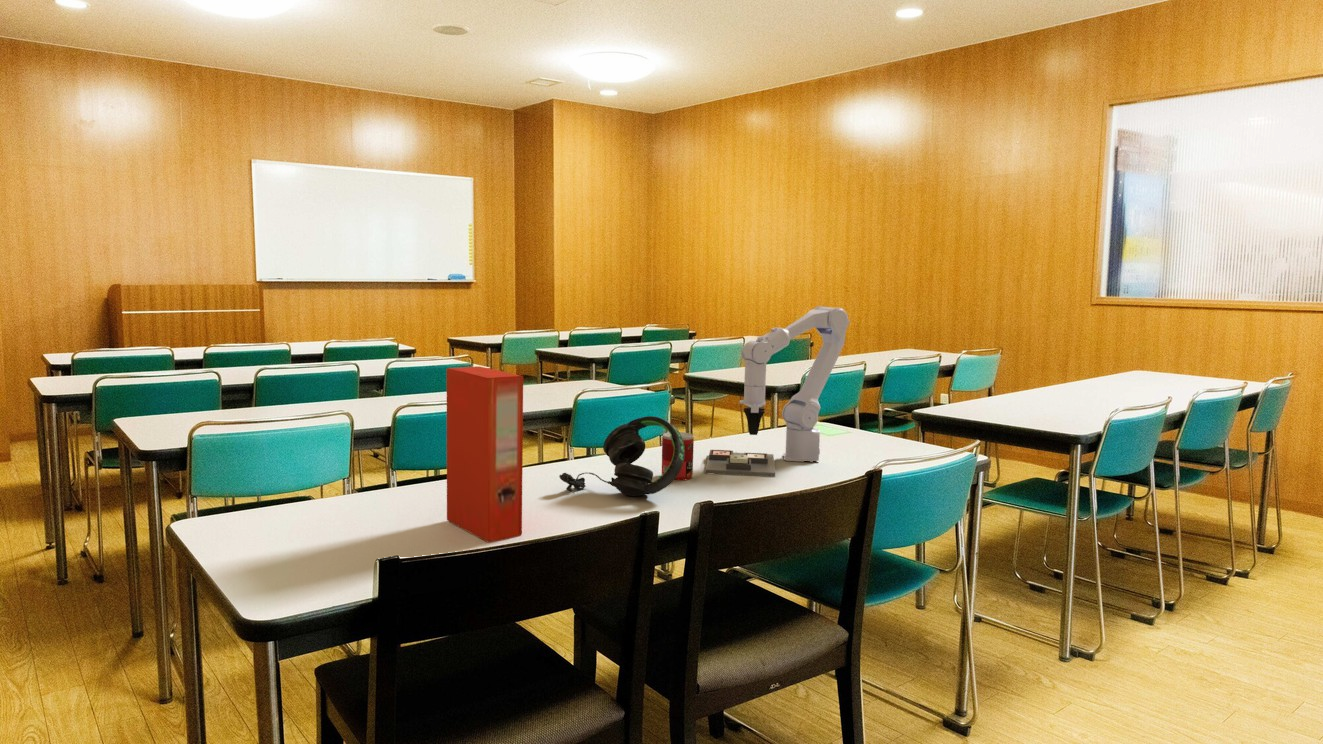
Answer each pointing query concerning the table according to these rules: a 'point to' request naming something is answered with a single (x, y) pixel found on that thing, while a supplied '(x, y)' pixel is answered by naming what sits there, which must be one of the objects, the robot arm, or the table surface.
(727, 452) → the key three
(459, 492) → the file binder
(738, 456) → the key two
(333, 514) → the table surface
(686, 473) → the canned food
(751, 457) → the key one
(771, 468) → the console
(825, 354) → the robot arm
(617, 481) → the headset
